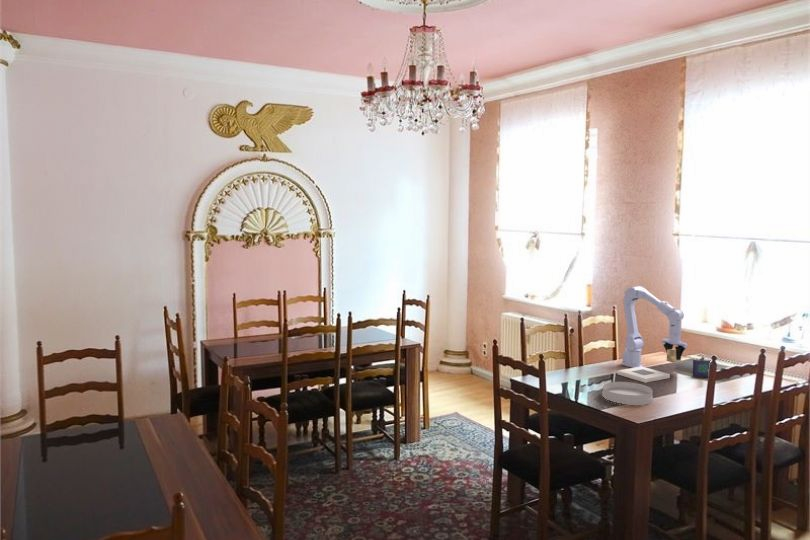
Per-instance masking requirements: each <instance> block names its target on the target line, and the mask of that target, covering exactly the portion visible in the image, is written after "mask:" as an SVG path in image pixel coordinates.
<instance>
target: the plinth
mask: <svg viewBox="0 0 810 540" xmlns="http://www.w3.org/2000/svg"><path fill="white" fill-rule="evenodd" d="M617 375H618V376H620V377H621V376H622V377H625V378H629V379H631V380H635V381H639V382H642V383H645V384H646V383H652V382H654V381H655V382H656V381H660V380H661V381H662V380H666V379H670V378H671V375H670V373H667V372H662V371H659V370H657V369H653V368H648V367H645V366H644V367H642V366H641V367H636V368H632V367H630V368H625V369H619V370H617Z"/></svg>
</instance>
